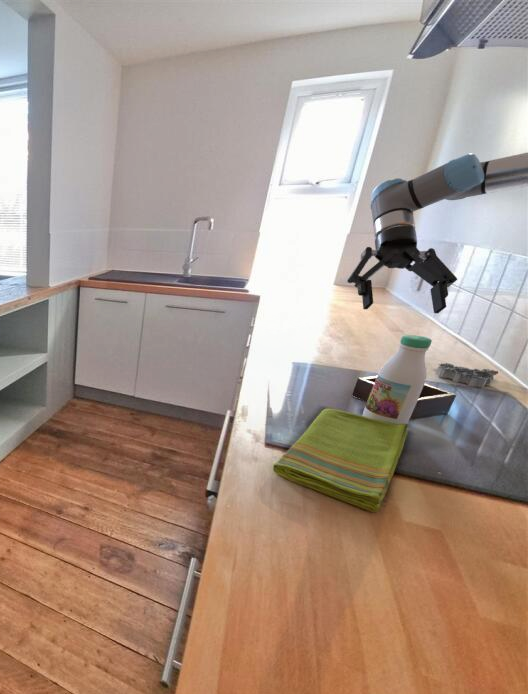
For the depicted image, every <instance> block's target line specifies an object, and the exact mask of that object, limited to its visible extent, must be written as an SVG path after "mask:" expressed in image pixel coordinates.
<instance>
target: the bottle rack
mask: <svg viewBox="0 0 528 694" xmlns="http://www.w3.org/2000/svg"><path fill="white" fill-rule="evenodd" d="M377 376H378V375H373V376H366V377H364V376H363V377H358V378H356V379H357V380H356V382H355V385H354V388H353V389H352V393H351V396H352V395H353V396H355V397H357V398H360V399H362V400H364V401H366V402H365V403H367V401H368V398H369V396H370V393H371V390H372V388H373V385H374V383H375V380H376V378H377ZM355 397H354V398H355ZM456 397H457V394H456V393H453V392H451V391H448V390H446V389H442V388H439V387H437V386H436V387H435V386H433V385H430V384H427V383H424V386H423V389H422V391H421V393H420V396H419V398H418V401H417V403H416V405H415V408H414V410H413V412H412V414H411V417H410V419H409V421H411V419H412V420H418V419H423V418H429V417H436V416H441V415H448V414H449V413H450V410H451V408H452V406H453V403H454V402H455V399H456ZM357 398H356V399H357ZM360 399H359V400H360ZM362 400H361V401H362ZM364 401H363V402H364Z"/></svg>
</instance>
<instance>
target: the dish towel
mask: <svg viewBox="0 0 528 694" xmlns="http://www.w3.org/2000/svg"><path fill="white" fill-rule="evenodd" d="M408 426H409V423H407V424H394V423H390V422H385V421H380V420H375V419H371V418H367V417H364V416H362V415H359V414H356V413H352V412H347V411H344V410H340V409H335V408H329V407H328V408H324V409H323V410H321V412H320V413H319V414H318V415H317V416H316V418H315V419H314V420H313V422H311V424H310V425H309V426H308V428H307V429H306V430H305V431H304V432H303V434H302V435H300V436H299V438H298V439H297V440H296V441H295V442H294V443H293V445H292V446H290V447H289V449H287V450H286V452H285V453H284V454H283V455H282V456H281V457H280V458H279V459H278V460H277V462H275V463H273V466H272V470H273V472H274V473H275V474H276V475H277V476H279V477H282V478H283V479H285V480H288V481H290V482H292V483H295V484H299V485H302V486H303V487H306V488H309V489H311V490H314V491H316V492H318V493H321V494H323V495H327V496H329V497H332V498H334V499H337V500H339V501H342V502H345V503H348V504H350V505H352V506H356V507H358V508H361V509H363V510H366V511H368V512H371V513H378V512H379V510H380V507H381V506H382V503H383V501H384V499H385V497H386V494H387V491H388V489H389V486H390V483H391V480H392V478H393V477H394V474H395V471H396V467H397V466H398V464H399V463H398V462H399V459H400V457H401V455H402V451H403V450H404V446H405V442H406V439H407V435H408V433H409V430H408Z"/></svg>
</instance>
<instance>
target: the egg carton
mask: <svg viewBox="0 0 528 694" xmlns="http://www.w3.org/2000/svg"><path fill="white" fill-rule="evenodd" d="M498 374H499V371H498V370H494V369H489V368H487V369H486V368H483V369H479V368H468V367H465V366H456V365H454V364H452V363H448V362H445V363H442V362H441V363H438V367H437V369H436V372H435V375H436V376H437V377H438V378H442V379H449V380H452V382H456V383H463V384H467V385H468V386H469V387H472V388H473V387H475V388H479V389H480V388H484V387H485V386H487V387H490V386H491V384H492V382H493V380H494V378H495V376H497V375H498Z"/></svg>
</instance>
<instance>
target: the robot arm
mask: <svg viewBox="0 0 528 694" xmlns="http://www.w3.org/2000/svg"><path fill="white" fill-rule="evenodd" d="M527 187H528V151H527V152H523V153H519V154H513V155H509V156H505V157H501V158H495V159H491V160H487V161H480V159H479V157H478V156H477V155H476V154H474V153H467V154H464V155H463V156H459V157H457V158H456V159H455V158H454V159H452V160H449V161H448V162H447V163H444V164H442V165H440V166H437V167H436V168H434V169H431V170H429V171H428V172H425V173H423V174H421V175H419V176H417V177H415V178H412V179H410V180H406V179H405V178H400V177H399V178H394V179H388V180H385V181H383V182H381V183H380V184H378V185H377V186H376V187H375V188H374V189H373V191H372V192H371V195H370V210H371V217H372V225H373V227H372V228H373V237H374V248H375V249H373V248H372V247H371V246H367V247H366V248H365V249H364V250H363V251H362V252H361V254H360V261H359V262H358V263H357V265H356V267H355V268H354V270H353V271H352V272H351V274H350V276H349V277H348V279H347V280H346V282H347V283H349V284H352V283H353V284H354V287H355V288H356V289H357V295H358V296H359V297H360V296H361V297H362V308H363V309H362V310H368V309H370V308H371V306H372V305H373V304H374V295H373V284H372V283H373V282H372V279H370V278H371V277H373V276H374V275H375V274H377V273H378V272H379V271H380V270H382V269H383V268H384V267H386V268H387V269H398V270H399V269H400V270H401V269H402V270H404V269H405V270H407V271H408V272H413V273H414V274H415V275H417V276H418V277H419V278H420V279H422V280H423V281H425V282H426V283H427V284H429V285H430V286H432V287H431V288H430V297H431V302H432V309H433V314H439V313H440V312H442V311H443V310H444V309H446V308H447V302H446V298H448V296H449V290H448V288H450V286H452V285H453V284H455V283H456V282H457V281H458V278H457V275H455V274H454V273H453V272H452V271H451V269H449V267H447V265H446V264H445V263H444V262H443V261H442V260H441V259H440V258H439V256H438V255H437V253H436V249H434V248H432V247H430V248H428V249H427V250H419V248H418V237H417V231H416V223H415V218H414V217H415V216H414V212H416V211H418V210H421V209H424V208H427V207H428V206H431V205H433V204H436V203H438V202H441V201H443V200H447V201H459V200H463V199H466V198H470V197H475V196H482V195H486V194H491V193H499V192H504V191H510V190H515V189H522V188H527ZM373 257H374V258H375V259H376V260H377V261H378V262H377V263H376V264H374V265H373V266H372V267H371V268H370V269H368V270H367V271H366V272H365V273H364V274H362V275H360V274H361V272H362V270H363V269H364V268H365V266H366V265H367V264H368V261H369V260H370V259H372V258H373ZM413 262H414V263H413ZM412 263H413V264H412Z"/></svg>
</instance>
